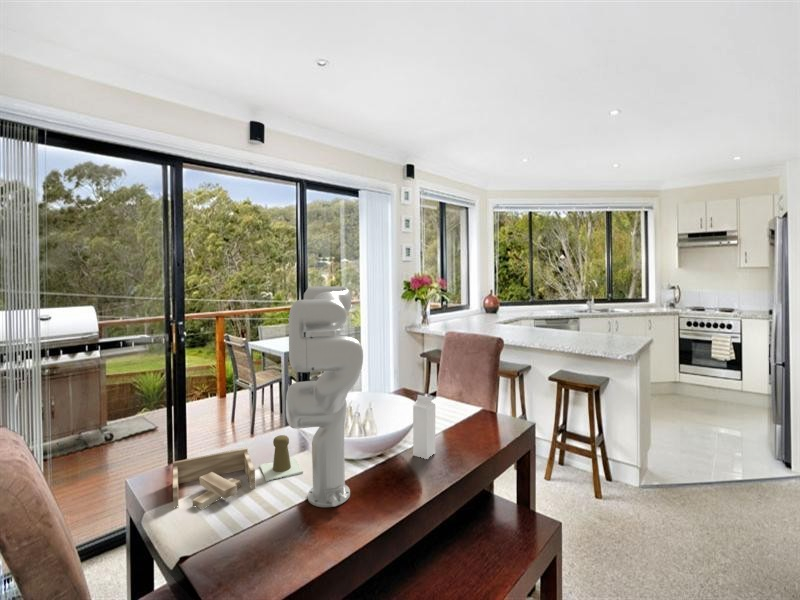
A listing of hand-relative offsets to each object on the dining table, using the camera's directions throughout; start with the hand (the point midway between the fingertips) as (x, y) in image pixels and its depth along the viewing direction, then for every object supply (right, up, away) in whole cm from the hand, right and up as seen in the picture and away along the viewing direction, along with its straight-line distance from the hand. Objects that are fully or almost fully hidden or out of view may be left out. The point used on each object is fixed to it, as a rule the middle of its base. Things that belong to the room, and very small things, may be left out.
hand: (321, 371), depth 141 cm
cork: (-14, -33, -1) cm, 36 cm away
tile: (-14, -33, -1) cm, 36 cm away
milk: (+36, -33, +10) cm, 50 cm away
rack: (-32, -34, -12) cm, 48 cm away
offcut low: (-28, -35, -17) cm, 48 cm away
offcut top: (-28, -33, -17) cm, 46 cm away
